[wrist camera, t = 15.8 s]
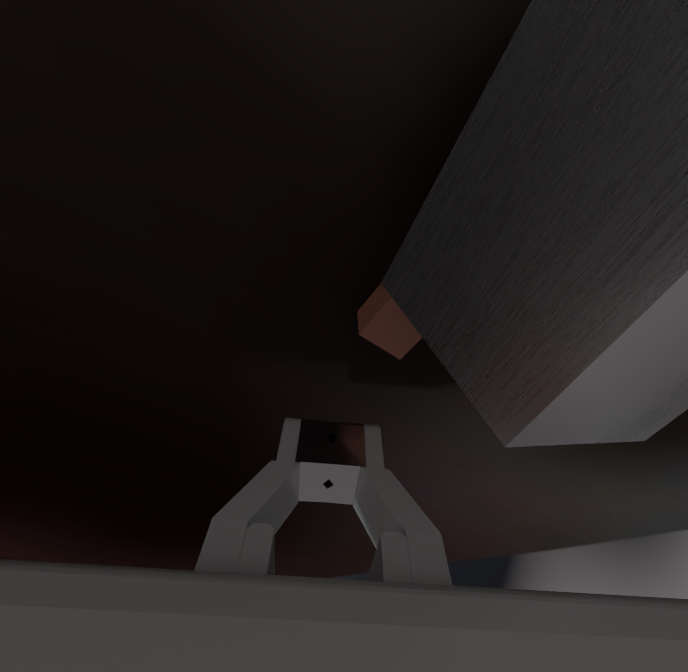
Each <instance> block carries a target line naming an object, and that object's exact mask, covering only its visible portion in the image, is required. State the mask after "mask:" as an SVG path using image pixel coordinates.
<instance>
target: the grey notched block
mask: <svg viewBox="0 0 688 672" xmlns="http://www.w3.org/2000/svg"><path fill="white" fill-rule="evenodd" d="M381 283H382V285H383V286H384V287H385V289H386V290H387V291H388V293H389V294H390V295H391V297H392V298H393V299H394V301H395V302H396V303H397V305H398V306H399V307H400V309H401V310H402V311H403V313H404V314H405V315H406V317H407V318H408V319H409V321H410V322H411V323H412V325H413V326H414V327H415V329H416V330H417V331H418V333H419V334H420V335H421V337H422V338H423V339H424V341H425V342H426V343H427V345H428V346H429V347H430V348H431V350H432V351H433V352H434V354H435V355H436V356H437V358H438V359H439V360H440V362H441V363H442V364H443V366H444V367H445V368H446V370H447V371H448V372H449V374H450V375H451V376H452V378H453V379H454V380H455V382H456V383H457V384H458V386H459V387H460V388H461V390H462V391H463V392H464V394H465V395H466V396H467V398H468V399H469V400H470V402H471V403H472V404H473V406H474V407H475V408H476V410H477V411H478V412H479V414H480V415H481V416H482V418H483V419H484V420H485V421H486V423H487V424H488V425H489V427H490V428H491V429H492V431H493V432H494V433H495V435H496V436H497V437H498V439H499V440H500V441H501V443H502V444H503V445H504V447H522V446H544V445H566V444H588V443H610V442H633V441H645V440H647V439H648V438H649V437H651V436H652V435H653V434H655V433H656V432H657V431H659V430H660V429H661V428H663V427H664V426H665V425H667V424H668V423H669V422H671V421H672V420H673V419H675V418H676V417H678V416H679V415H680V414H682V413H683V412H684V411H686V410H687V409H688V0H532V1H531V3H530V5H529V6H528V8H527V10H526V12H525V14H524V16H523V18H522V20H521V21H520V23H519V25H518V27H517V29H516V31H515V33H514V35H513V36H512V38H511V40H510V42H509V44H508V46H507V48H506V50H505V51H504V53H503V55H502V57H501V59H500V61H499V63H498V65H497V66H496V68H495V70H494V72H493V74H492V76H491V78H490V80H489V81H488V83H487V85H486V87H485V89H484V91H483V93H482V95H481V96H480V98H479V100H478V102H477V104H476V106H475V108H474V110H473V111H472V113H471V115H470V117H469V119H468V121H467V123H466V125H465V126H464V128H463V130H462V132H461V134H460V136H459V138H458V140H457V141H456V143H455V145H454V147H453V149H452V151H451V153H450V155H449V156H448V158H447V160H446V162H445V164H444V166H443V168H442V170H441V171H440V173H439V175H438V177H437V179H436V181H435V183H434V185H433V187H432V188H431V190H430V192H429V194H428V196H427V198H426V200H425V202H424V203H423V205H422V207H421V209H420V211H419V213H418V215H417V217H416V218H415V220H414V222H413V224H412V226H411V228H410V230H409V232H408V233H407V235H406V237H405V239H404V241H403V243H402V245H401V247H400V248H399V250H398V252H397V254H396V256H395V258H394V260H393V262H392V263H391V265H390V267H389V269H388V271H387V273H386V275H385V277H384V278H383V280H382V282H381Z"/></svg>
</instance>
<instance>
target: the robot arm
mask: <svg viewBox="0 0 688 672" xmlns="http://www.w3.org/2000/svg"><path fill="white" fill-rule="evenodd" d="M298 501H310V502H329V503H340V504H350V505H353V507H354V509H355V511H356V513H357V514H358V516H359V518H360V520H361V522H362V523H363V525H364V527H365V529H366V531H367V533H368V534H369V536H370V538H371V540H372V542H373V544H374V545H375V547H376V549H377V550H376V553H375V556H374V559H373V562H372V565H371V569H370V572H369V575H368V578H367V581H366V580H350V579H333V578H316V577H299V576H282V575H274V535H275V533H276V532H277V531H278V529H279V528H280V527H281V525H282V524H283V523H284V521H285V520H286V518H287V517H288V516H289V514H290V513H291V512H292V510H293V509H294V508H295V506H296V505H297V503H298ZM0 672H688V599H672V598H656V597H638V596H622V595H604V594H586V593H570V592H553V591H552V592H551V591H535V590H519V589H500V588H483V587H467V586H452V583H451V578H450V573H449V569H448V564H447V560H446V555H445V551H444V546H443V542H442V537H441V533H440V532H439V531H438V530H437V528H436V527H435V526H434V525H433V523H432V522H431V521H430V520H429V518H428V517H427V516H426V515H425V513H424V512H423V511H422V510H421V508H420V507H419V506H418V505H417V503H416V502H415V501H414V500H413V498H412V497H411V496H410V495H409V493H408V492H407V491H406V490H405V488H404V487H403V486H402V485H401V483H400V482H399V481H398V480H397V478H396V477H395V476H394V475H393V473H392V472H391V471H390V470H389V469H385V467H384V457H383V448H382V439H381V429H380V426H379V425H371V424H359V423H345V422H327V421H318V420H309V419H297V418H287V417H286V418H285V421H284V424H283V429H282V434H281V439H280V444H279V448H278V453H277V458H276V461H270V462H269V463H268V464H267V465H266V466H265V467H264V468H263V469H262V470H261V471H260V472H259V473H258V474H257V475H256V476H255V477H254V478H253V479H252V480H251V481H250V482H249V483H248V484H247V485H245V486H244V487H243V488H242V489H241V490H240V491H239V492H238V493H237V494H236V495H235V496H234V497H233V498H232V499H231V500H230V501H229V502H228V503H227V504H226V505H225V506H224V507H223V508H222V509H221V510H220V511H219V512H218V513H217V514H216V515H215V516H214V517H213V518H212V520H211V523H210V526H209V529H208V532H207V535H206V538H205V541H204V544H203V547H202V549H201V552H200V555H199V558H198V561H197V564H196V567H195V570H179V569H162V568H145V567H128V566H111V565H94V564H77V563H60V562H43V561H25V560H8V559H0Z"/></svg>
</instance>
